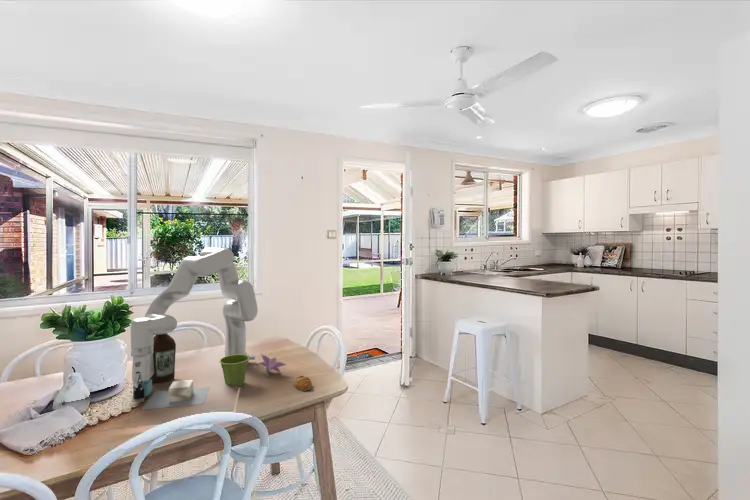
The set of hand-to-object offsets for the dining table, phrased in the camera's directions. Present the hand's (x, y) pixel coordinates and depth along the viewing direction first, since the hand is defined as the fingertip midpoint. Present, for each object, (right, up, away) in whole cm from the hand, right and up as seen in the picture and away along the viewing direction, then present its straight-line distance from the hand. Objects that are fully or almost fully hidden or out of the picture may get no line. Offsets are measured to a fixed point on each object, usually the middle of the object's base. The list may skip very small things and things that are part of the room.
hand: (142, 395), depth 143 cm
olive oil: (-1, -1, +14) cm, 14 cm away
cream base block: (+16, 0, -3) cm, 17 cm away
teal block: (0, -1, 0) cm, 1 cm away
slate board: (+15, -1, -3) cm, 16 cm away
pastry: (+60, -2, +12) cm, 61 cm away
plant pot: (+31, -1, +13) cm, 33 cm away
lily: (+43, -1, +25) cm, 50 cm away
